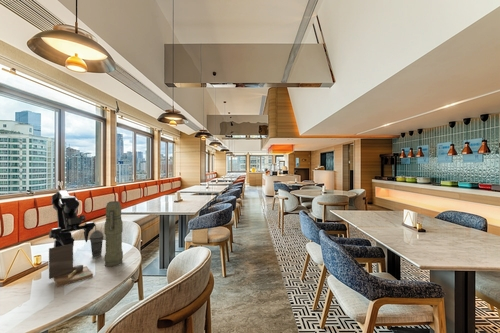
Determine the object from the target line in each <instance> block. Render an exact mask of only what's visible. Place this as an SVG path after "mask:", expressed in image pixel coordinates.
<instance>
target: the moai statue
mask: <svg viewBox="0 0 500 333" xmlns="http://www.w3.org/2000/svg"><path fill="white" fill-rule="evenodd" d="M123 224H124V223H123V220H122V203H121V202H120V201H118V200H115V201H109V202H107V203H106V206H105V222H104V224H103V225H104V231H103V232H104V233H103V234H104V236H105V254H104V255H103V256H104V266H105V267H106V268H114V267H117V266H120V265H122V264H123V263H124V262H123V258H124V251H123V246H122V245H123V242H122V241H123V240H122V239H123V237H122V235H123V234H122V233H123V230H124V229H123V227H124V226H123Z"/></svg>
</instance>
